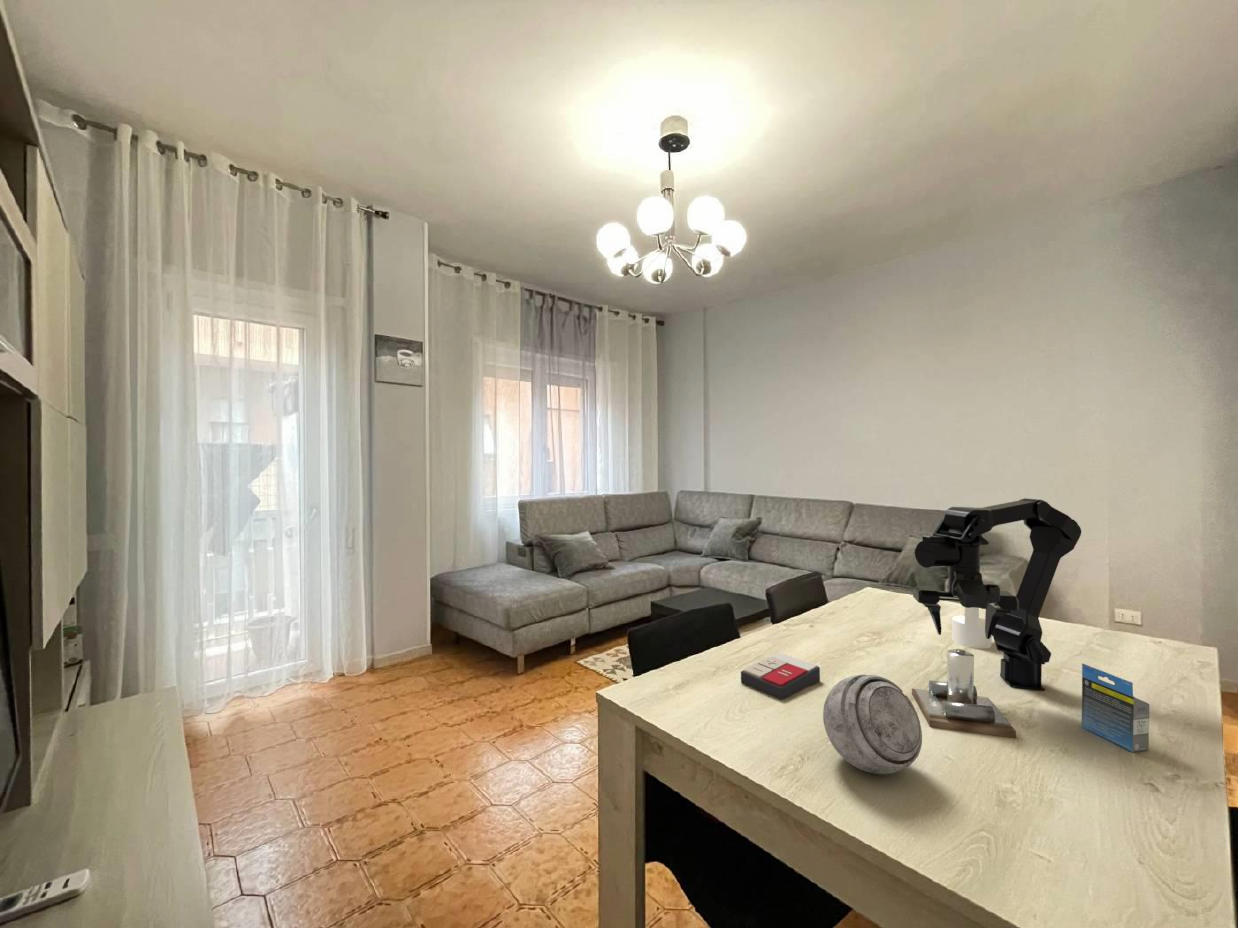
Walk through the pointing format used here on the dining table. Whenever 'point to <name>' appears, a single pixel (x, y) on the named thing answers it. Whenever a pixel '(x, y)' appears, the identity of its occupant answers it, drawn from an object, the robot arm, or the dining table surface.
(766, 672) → the calculator
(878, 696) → the decorative orb
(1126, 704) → the ink cartridge box
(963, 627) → the cylinder with rectangular tab
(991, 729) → the board
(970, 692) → the hinge barrel
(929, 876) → the dining table surface
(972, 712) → the hinge leaves
